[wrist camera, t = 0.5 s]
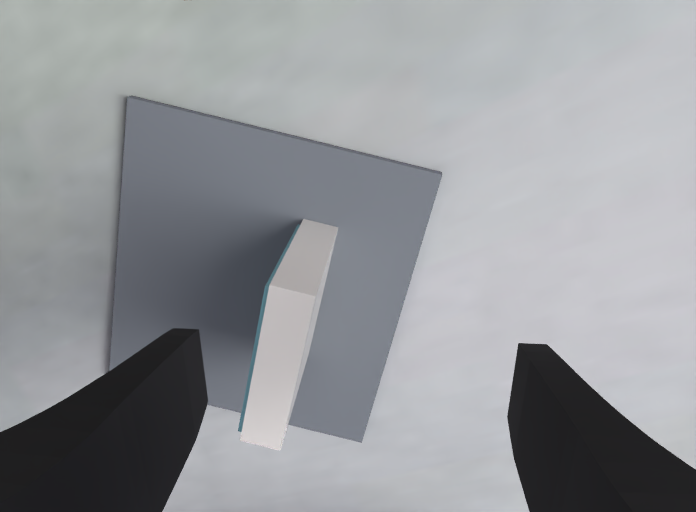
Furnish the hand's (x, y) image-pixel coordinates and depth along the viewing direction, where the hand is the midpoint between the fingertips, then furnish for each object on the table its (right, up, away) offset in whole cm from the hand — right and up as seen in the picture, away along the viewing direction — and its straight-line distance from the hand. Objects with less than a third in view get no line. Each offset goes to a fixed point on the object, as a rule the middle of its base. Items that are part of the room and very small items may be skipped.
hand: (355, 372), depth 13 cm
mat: (-4, +1, +11) cm, 12 cm away
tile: (-2, +1, +11) cm, 11 cm away
